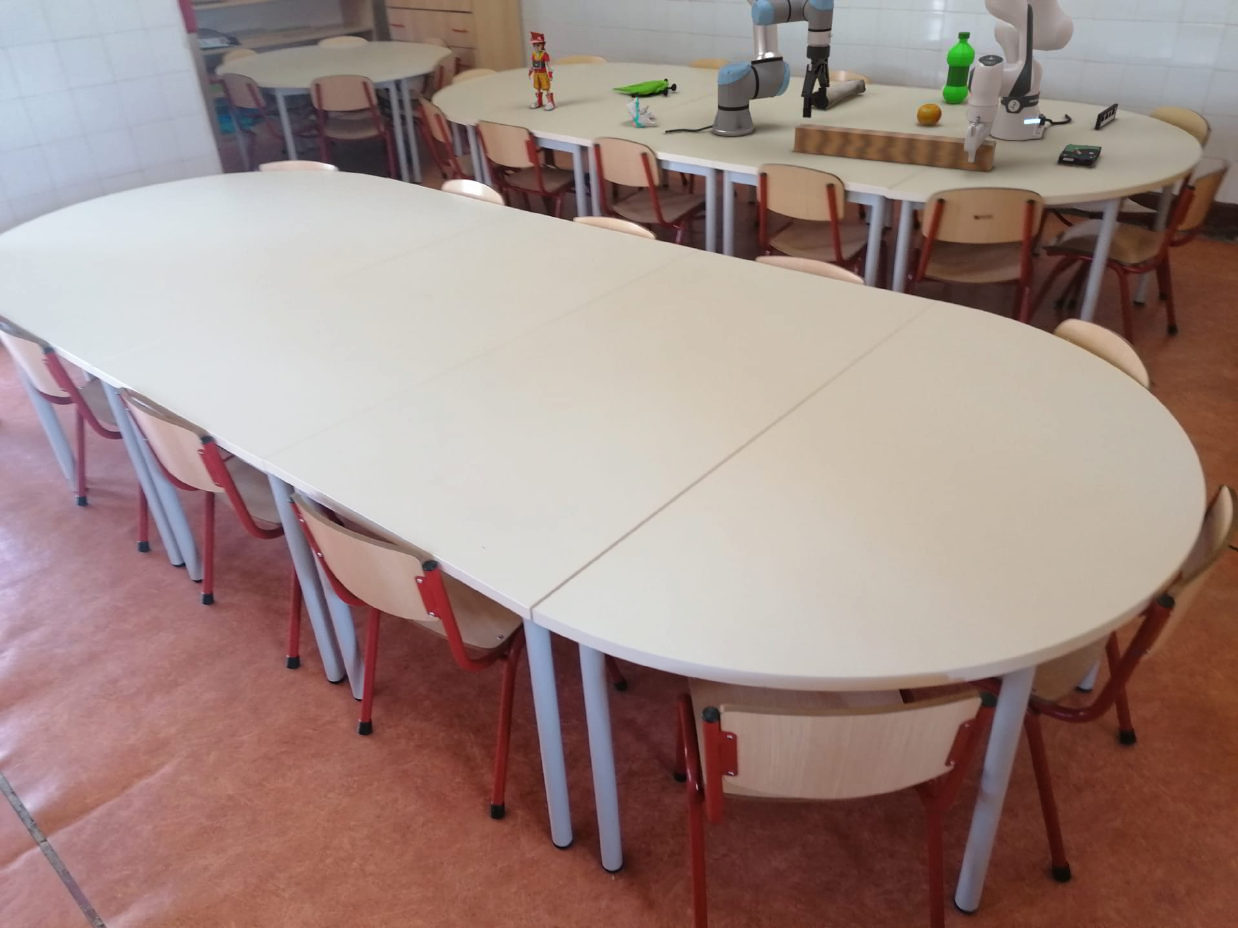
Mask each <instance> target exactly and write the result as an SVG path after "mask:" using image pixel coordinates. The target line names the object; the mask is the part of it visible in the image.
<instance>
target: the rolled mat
mask: <svg viewBox="0 0 1238 928" xmlns="http://www.w3.org/2000/svg"><path fill="white" fill-rule="evenodd" d="M826 88H827V92H826V105H825V108H817V101H818V90H816V91H813V92H812V96H811V97H812V107H815V109H818V110H824V111H825V110H827V109H828V108H830V107H831V106H832V105H834V104H836V103H837V102H838V101H840V100H842V99H843V98H845V97H847V96H849V95H860V94H863V93H865V92H866V91H867V88H866V82H865V80H864V79H862V78H853V79H849V80H845V81H842V82H839V83H836V84H835V85H830V87H826Z"/></svg>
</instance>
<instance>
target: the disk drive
mask: <svg viewBox="0 0 1238 928" xmlns="http://www.w3.org/2000/svg"><path fill="white" fill-rule="evenodd" d="M1101 152H1102V146H1097V145H1088V144H1087V145H1086V144H1084V145H1083V144H1072V143H1069V144H1066V146H1065V147H1064V148H1063V150H1062V151H1061V152H1060V154H1059V155H1058V159H1057V164H1062V165H1070V166H1076V167H1077V166H1078V167H1093V166H1094V164H1095V163H1096V161H1097V160H1098V159H1099V157H1100V155H1101Z"/></svg>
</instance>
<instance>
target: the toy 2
mask: <svg viewBox="0 0 1238 928" xmlns="http://www.w3.org/2000/svg"><path fill="white" fill-rule="evenodd" d="M669 85H670V83H669V79H668V78H664V79H663V80H649V81H644V82H640V83H634V84H629V85H627V86H621V87H613V88H612V89H613V90H616V91H619V92H623V93H627V94H628V93H629V94H631V95H630V96H631V98H632V99H635V98H636V96H637V95H650V94H652V93H654V94H658V93H662V95H663V96H665V97H667V96H668V95H669V90H671V91H672V92H676V91H677V84H676V83H672V84H671V86H669Z"/></svg>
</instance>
